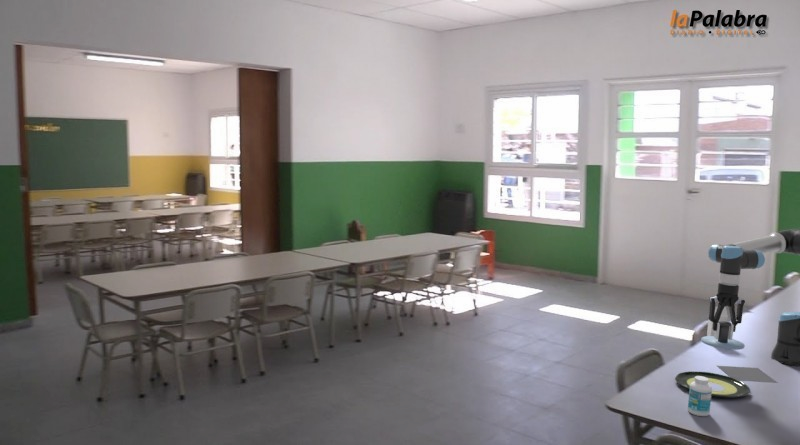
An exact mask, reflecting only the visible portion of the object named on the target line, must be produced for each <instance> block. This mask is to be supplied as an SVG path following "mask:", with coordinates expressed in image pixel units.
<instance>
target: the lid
mask: <svg viewBox="0 0 800 445" xmlns="http://www.w3.org/2000/svg"><path fill="white" fill-rule="evenodd" d="M718 323H719V324H720V328H719V338H718V339H715V338H714V336H707V335H706V336H705V335H704V336H702V337H701V338H700V339H701V343H703V344H705V345H707V346H710V347H713V348H718V349H723V350H732V351H736V350H737V351H739V350H743V349H745V343H744V342H741V341H740V340H738V339H733V338H732V340H729V339H728V334H729V326H731V321H728V322H727V321H718Z"/></svg>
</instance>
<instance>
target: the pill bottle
mask: <svg viewBox="0 0 800 445" xmlns="http://www.w3.org/2000/svg"><path fill="white" fill-rule="evenodd" d="M694 380H695V382H692V383H691V384H690V390H689V389H688V390H689V393H688V403H687V411H688V412H689V413H690V414H692V415H694V416H698V417H708V416H709V415H710V413H711V402H712V400H711V399H712V396H711V393H712V391H713V389H712V388H713V387H712V386H711V384H710V383H709V382H708V381H709V379H708V378H706V377H703V376H695V379H694Z"/></svg>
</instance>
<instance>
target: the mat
mask: <svg viewBox="0 0 800 445" xmlns="http://www.w3.org/2000/svg"><path fill="white" fill-rule="evenodd" d="M716 367H717V368H718V369H719V370H721V371H722V372H723V373H724V374H725V375H726V376H728V377H731V378H734V379H736V380H739V381H741V382H755V383H756V382H757V383H758V382H759V383H773V384H774V383H776V384H777V383H778V382H777V381H776V380H775V379H774V378H772V377H771V376H770V375H768V374H767V373H765V372H764V371H763V370H761V368H759V367H749V366H747V367H746V366H730V365H729V366H728V365H727V366H726V365H716Z"/></svg>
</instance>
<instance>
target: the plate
mask: <svg viewBox="0 0 800 445" xmlns="http://www.w3.org/2000/svg"><path fill="white" fill-rule="evenodd" d="M695 376H703V377H706V378H708V379H709V381H708V384H715V385H719V386H720V387H723V390H712V393H711V397H716V398H724V399H725V398H727V399H730V398H731V399H733V398H740V397H741V398H742V397H745V396H747V395H749V394H750V393H751V389H750V387H749V386H748V384H746V383H744V381H739V380H736V379H734V378H731V377H729V376H728V375H723V374H719V373H713V372H709V371H683V372H679V373H678V374H676V375H675V378H674V379H675V381H676V383H677V384H678V385H680V386H682V387H683V388H686V389H688V390H690V384H691V383H692V382H695V380H694V379H695Z"/></svg>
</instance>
